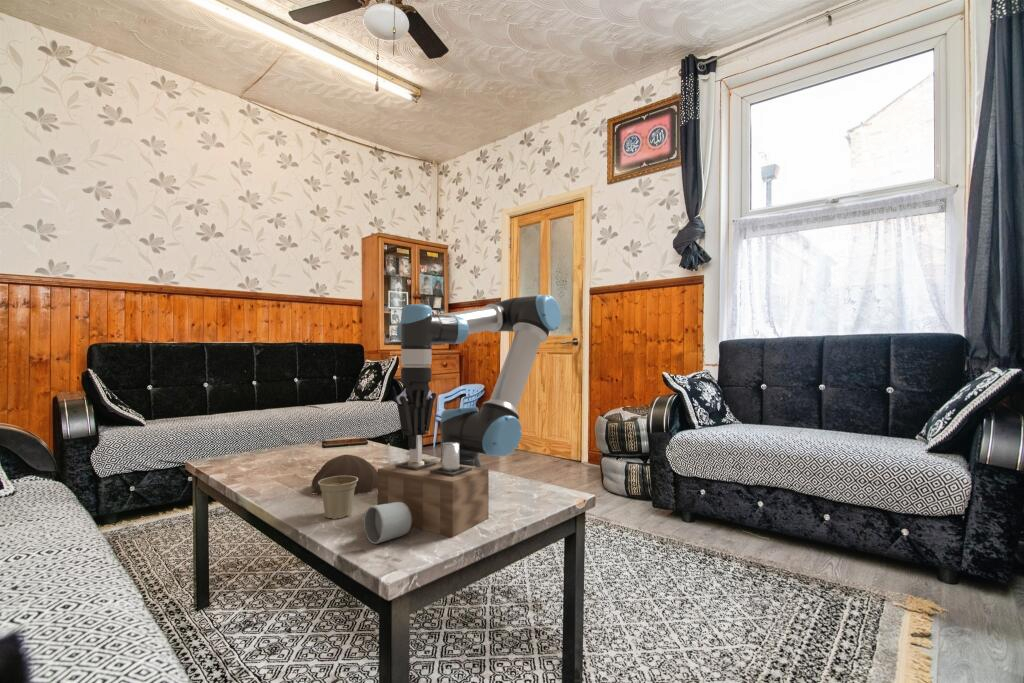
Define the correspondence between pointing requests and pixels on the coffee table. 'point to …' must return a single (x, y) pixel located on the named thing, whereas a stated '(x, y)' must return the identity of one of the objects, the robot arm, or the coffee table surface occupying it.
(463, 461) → the jar
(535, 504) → the coffee table surface
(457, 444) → the peg steel
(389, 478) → the walnut block
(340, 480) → the flower pot
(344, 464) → the decorative dome
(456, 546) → the coffee table surface
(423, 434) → the robot arm
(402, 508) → the ceramic mug
